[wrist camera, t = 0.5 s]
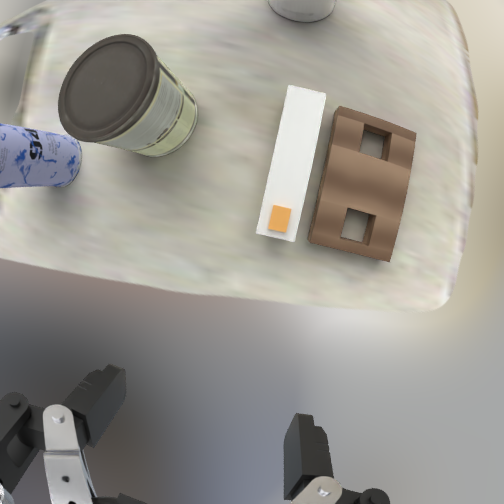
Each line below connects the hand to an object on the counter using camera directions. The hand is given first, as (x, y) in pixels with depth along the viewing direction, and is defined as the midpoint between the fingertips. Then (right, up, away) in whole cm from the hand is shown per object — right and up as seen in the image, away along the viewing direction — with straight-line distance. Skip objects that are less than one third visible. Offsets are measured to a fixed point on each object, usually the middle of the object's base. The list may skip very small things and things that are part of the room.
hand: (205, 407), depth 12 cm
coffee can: (-9, +24, +21) cm, 33 cm away
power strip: (+6, +17, +21) cm, 28 cm away
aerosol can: (-26, +20, +23) cm, 40 cm away
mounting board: (+15, +15, +21) cm, 30 cm away
